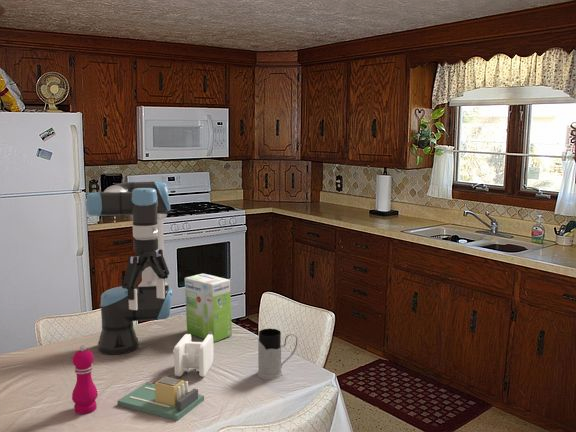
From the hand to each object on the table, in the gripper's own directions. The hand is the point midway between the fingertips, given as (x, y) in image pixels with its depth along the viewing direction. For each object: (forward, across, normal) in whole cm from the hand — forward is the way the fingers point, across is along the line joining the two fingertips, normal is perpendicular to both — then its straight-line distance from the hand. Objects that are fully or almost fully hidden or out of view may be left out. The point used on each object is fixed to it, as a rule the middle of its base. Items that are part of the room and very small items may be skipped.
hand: (147, 303), depth 176 cm
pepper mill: (+29, -19, +9) cm, 36 cm away
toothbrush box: (+29, +51, +10) cm, 60 cm away
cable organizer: (+29, +18, -5) cm, 34 cm away
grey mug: (+29, +29, -32) cm, 52 cm away
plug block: (+27, -6, -12) cm, 30 cm away
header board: (+29, -6, -9) cm, 31 cm away
